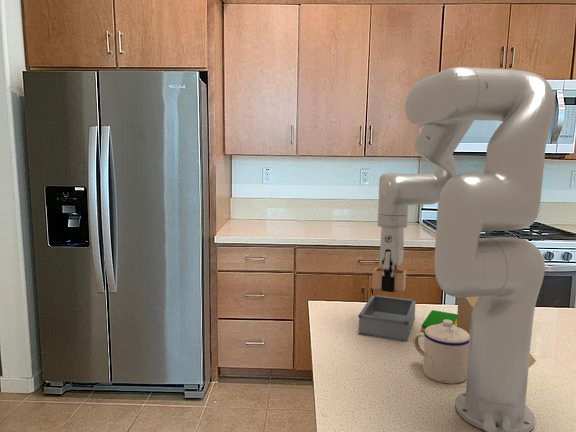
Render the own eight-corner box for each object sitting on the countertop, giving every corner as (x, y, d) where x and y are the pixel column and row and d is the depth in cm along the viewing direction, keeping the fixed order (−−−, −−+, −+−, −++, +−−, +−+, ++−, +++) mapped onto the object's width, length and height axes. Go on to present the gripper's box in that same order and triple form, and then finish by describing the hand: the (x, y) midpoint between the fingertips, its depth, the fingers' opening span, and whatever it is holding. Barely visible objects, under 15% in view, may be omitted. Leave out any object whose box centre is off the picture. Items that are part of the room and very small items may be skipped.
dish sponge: (457, 322, 124) (458, 314, 123) (449, 339, 111) (450, 330, 111) (431, 317, 127) (432, 309, 127) (420, 334, 115) (421, 325, 115)
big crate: (407, 342, 109) (408, 322, 108) (357, 334, 113) (358, 315, 112) (415, 317, 125) (416, 300, 125) (371, 311, 130) (372, 294, 129)
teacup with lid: (475, 375, 93) (479, 321, 91) (454, 390, 86) (458, 332, 85) (423, 355, 101) (426, 306, 100) (401, 368, 95) (404, 316, 94)
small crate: (403, 293, 115) (404, 274, 114) (372, 289, 118) (372, 271, 117) (405, 288, 119) (406, 270, 118) (375, 284, 122) (376, 267, 121)
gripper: (402, 226, 106) (399, 299, 109) (410, 217, 122) (407, 281, 125) (371, 224, 109) (368, 296, 112) (383, 215, 125) (380, 278, 127)
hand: (389, 287), depth 118 cm, fingers closed on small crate, 4 cm apart
